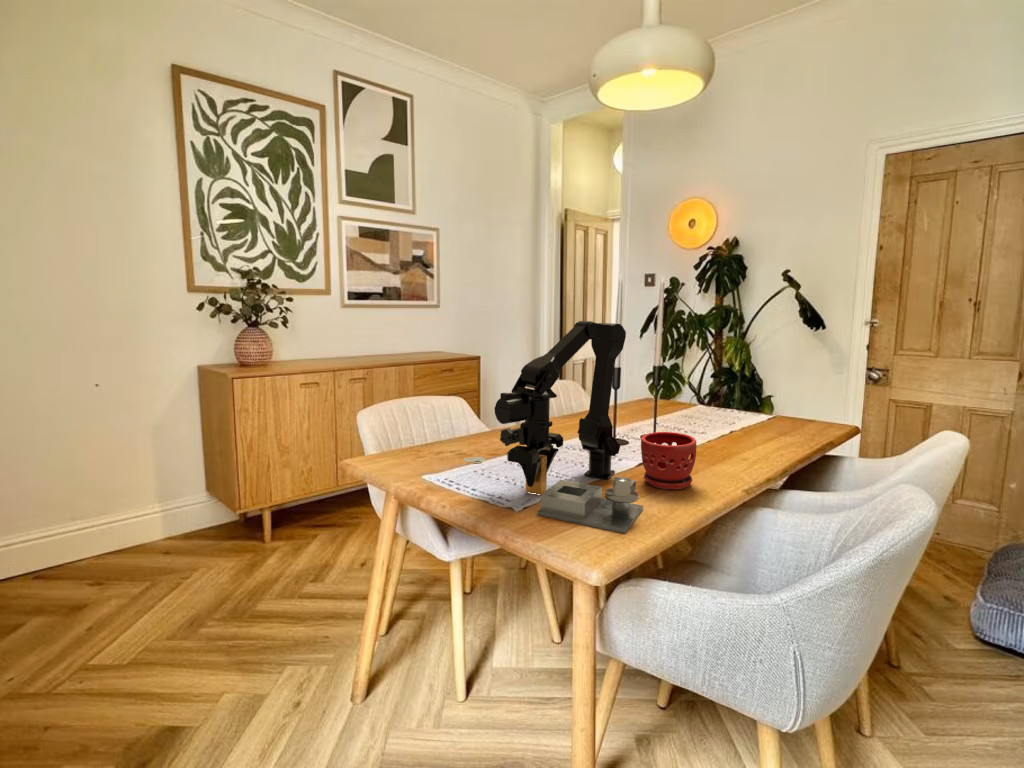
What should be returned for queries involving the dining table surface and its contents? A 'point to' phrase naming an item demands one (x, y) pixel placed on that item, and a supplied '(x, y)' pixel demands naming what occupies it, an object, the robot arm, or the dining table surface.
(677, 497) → the dining table surface
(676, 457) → the plant pot
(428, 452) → the dining table surface
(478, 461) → the mounting bracket
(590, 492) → the grey metal frame fixture
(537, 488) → the rectangular wooden peg
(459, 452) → the dining table surface
